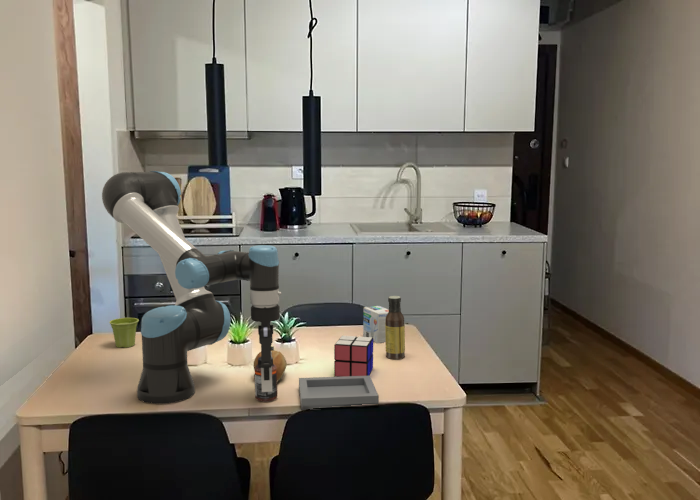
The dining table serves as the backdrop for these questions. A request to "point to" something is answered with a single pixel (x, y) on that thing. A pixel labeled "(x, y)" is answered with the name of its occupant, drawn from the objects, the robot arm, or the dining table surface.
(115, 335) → the plant pot
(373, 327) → the light bulb box
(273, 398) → the supplement bottle
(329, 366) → the dining table surface
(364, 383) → the tray
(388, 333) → the sauce bottle
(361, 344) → the puzzle cube
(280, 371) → the bread roll
